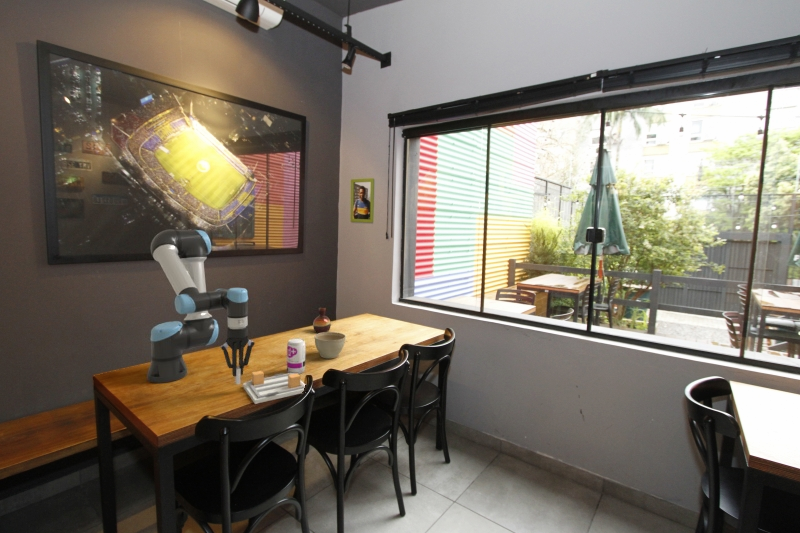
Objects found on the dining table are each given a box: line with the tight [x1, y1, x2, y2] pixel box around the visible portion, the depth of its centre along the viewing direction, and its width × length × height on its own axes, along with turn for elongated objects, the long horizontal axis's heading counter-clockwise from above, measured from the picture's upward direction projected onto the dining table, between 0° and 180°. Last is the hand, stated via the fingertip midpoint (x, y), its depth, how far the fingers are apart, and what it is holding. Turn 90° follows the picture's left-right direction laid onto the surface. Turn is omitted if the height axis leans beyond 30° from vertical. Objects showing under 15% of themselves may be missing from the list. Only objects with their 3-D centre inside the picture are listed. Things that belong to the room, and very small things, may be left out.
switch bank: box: [242, 372, 306, 405], centre depth 162 cm, size 22×18×2 cm
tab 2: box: [288, 373, 301, 388], centre depth 161 cm, size 4×3×5 cm
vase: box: [312, 307, 332, 334], centre depth 247 cm, size 11×11×15 cm
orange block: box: [251, 370, 265, 386], centre depth 162 cm, size 4×3×5 cm
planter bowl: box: [314, 331, 346, 359], centre depth 204 cm, size 16×16×11 cm
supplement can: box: [286, 338, 306, 375], centre depth 180 cm, size 8×8×15 cm
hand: (237, 383), depth 157 cm, fingers closed
